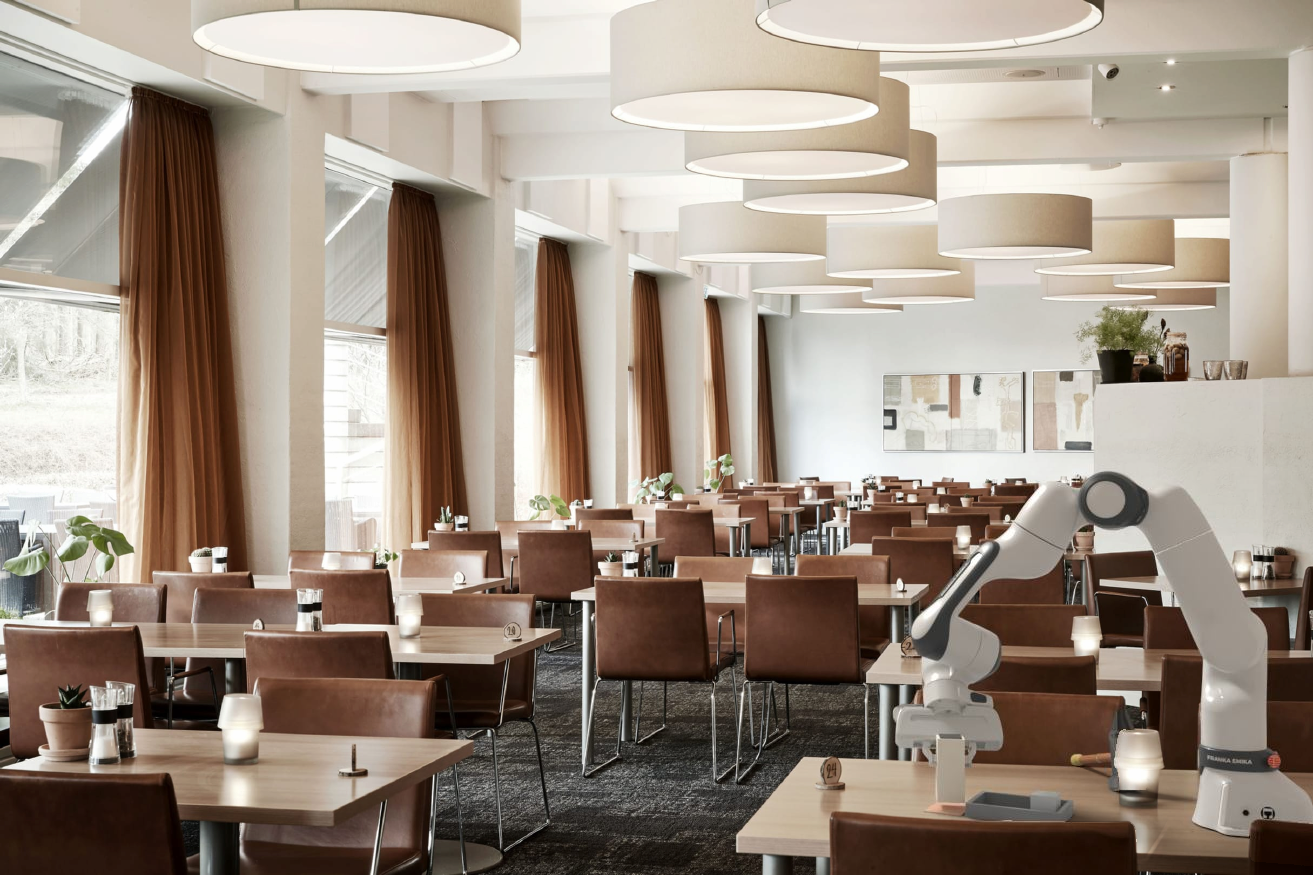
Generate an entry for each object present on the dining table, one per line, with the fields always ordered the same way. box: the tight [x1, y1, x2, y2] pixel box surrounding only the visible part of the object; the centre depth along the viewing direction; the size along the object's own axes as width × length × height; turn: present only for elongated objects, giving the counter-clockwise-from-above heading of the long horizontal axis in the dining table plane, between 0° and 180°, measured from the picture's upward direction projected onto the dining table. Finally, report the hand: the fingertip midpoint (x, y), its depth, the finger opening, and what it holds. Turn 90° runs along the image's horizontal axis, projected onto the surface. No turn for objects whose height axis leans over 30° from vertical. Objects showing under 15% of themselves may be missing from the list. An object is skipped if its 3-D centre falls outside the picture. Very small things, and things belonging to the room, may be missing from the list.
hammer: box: [1070, 709, 1136, 792], centre depth 295 cm, size 6×16×30 cm
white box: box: [935, 734, 966, 803], centre depth 264 cm, size 5×5×12 cm
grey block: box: [1029, 789, 1062, 812], centre depth 256 cm, size 4×4×4 cm
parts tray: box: [965, 790, 1074, 821], centre depth 258 cm, size 17×12×3 cm
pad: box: [923, 801, 966, 817], centre depth 264 cm, size 7×11×1 cm, turn 153°
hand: (950, 765), depth 263 cm, fingers closed on white box, 5 cm apart
